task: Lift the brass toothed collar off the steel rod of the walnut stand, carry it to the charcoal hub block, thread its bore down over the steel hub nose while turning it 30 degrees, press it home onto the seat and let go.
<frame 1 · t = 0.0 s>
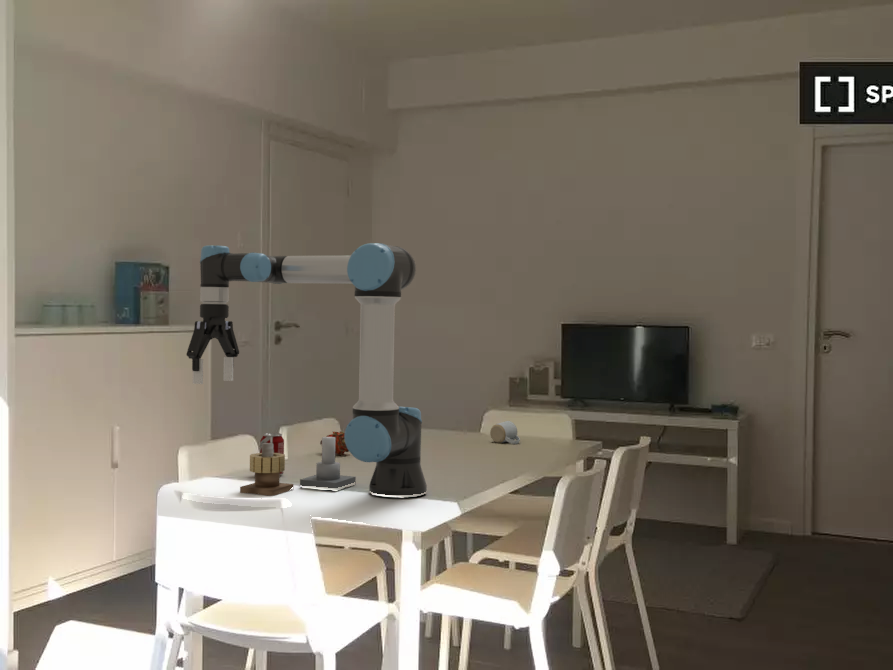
hand: (213, 382, 263), 28 cm above the table, fingers open, 13 cm apart
stand: (267, 491, 257), on the table
soda can: (271, 476, 281), on the table
dragon fruit: (335, 455, 324), on the table
collar: (267, 470, 257), point 5 cm above the table, touching stand
hub: (327, 486, 265), on the table
ceramic mug: (506, 443, 362), on the table
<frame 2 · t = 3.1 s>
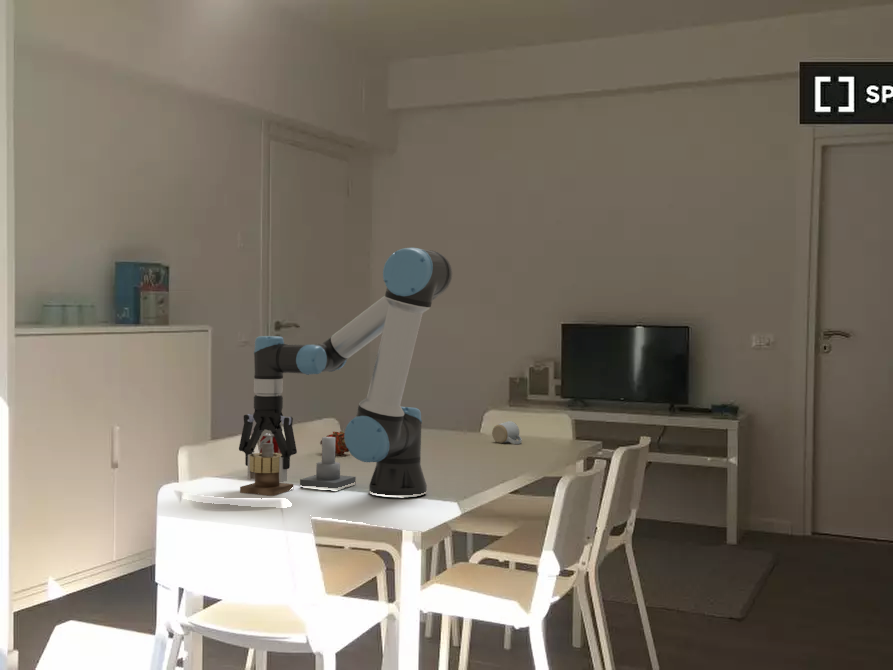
hand: (267, 479, 257), 3 cm above the table, fingers closed on collar, 9 cm apart
collar: (267, 470, 257), point 6 cm above the table, touching gripper, stand
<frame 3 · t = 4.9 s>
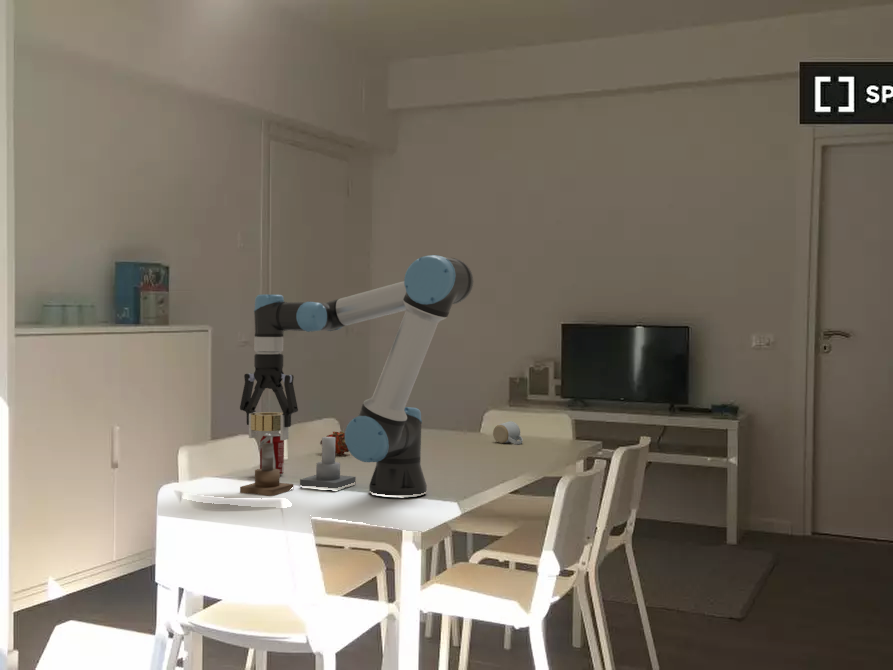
hand: (268, 438, 257), 14 cm above the table, fingers closed on collar, 9 cm apart
collar: (268, 429, 257), point 16 cm above the table, touching gripper
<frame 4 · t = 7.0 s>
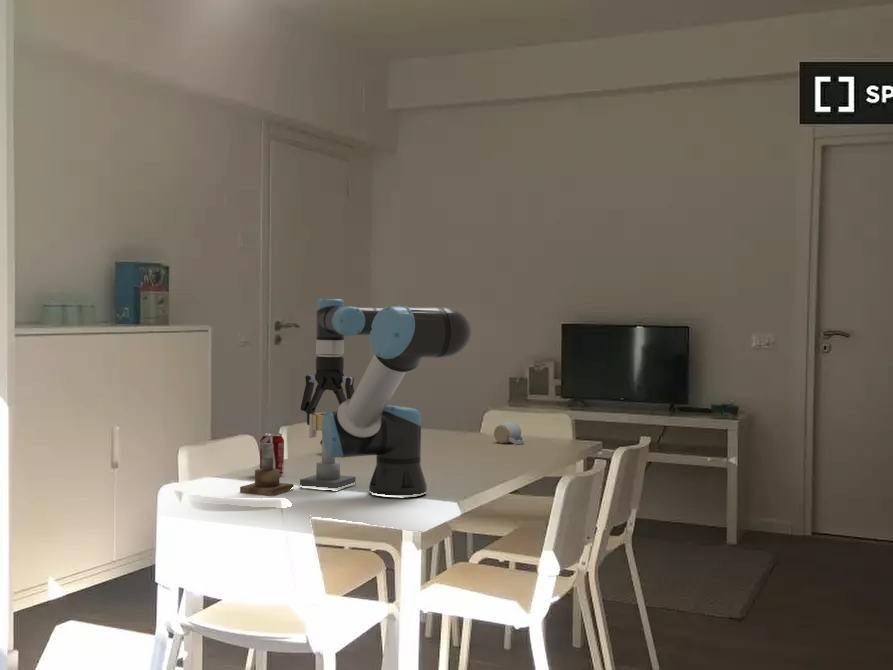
hand: (328, 438, 265), 13 cm above the table, fingers closed on collar, 9 cm apart
collar: (328, 429, 265), point 16 cm above the table, touching gripper
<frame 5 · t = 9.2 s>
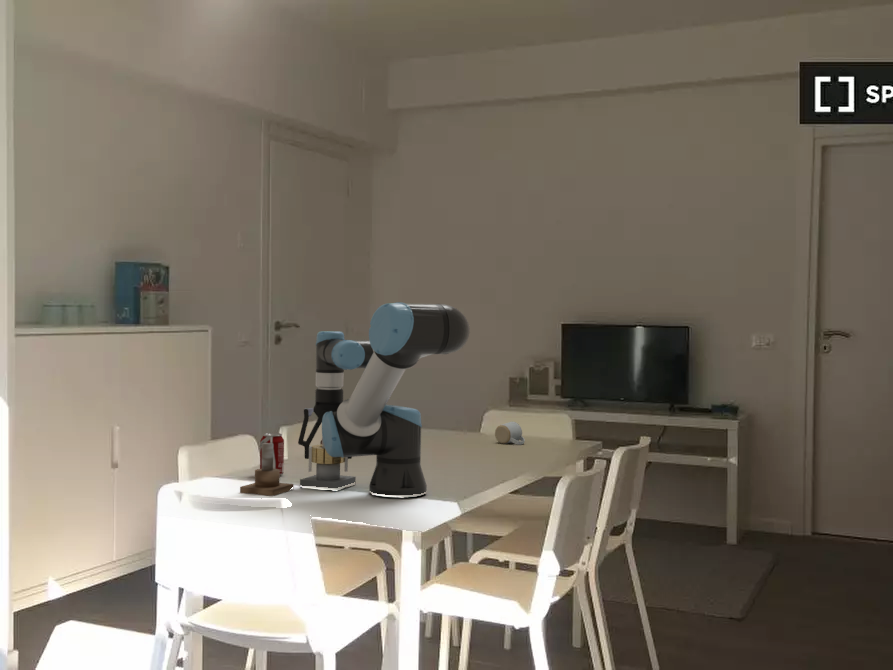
hand: (328, 470, 265), 4 cm above the table, fingers closed on collar, 9 cm apart
collar: (328, 461, 265), point 7 cm above the table, touching gripper
when the fingers open (4 cm above the table, at t = 10.7 s): collar stays where it is, resting on hub.
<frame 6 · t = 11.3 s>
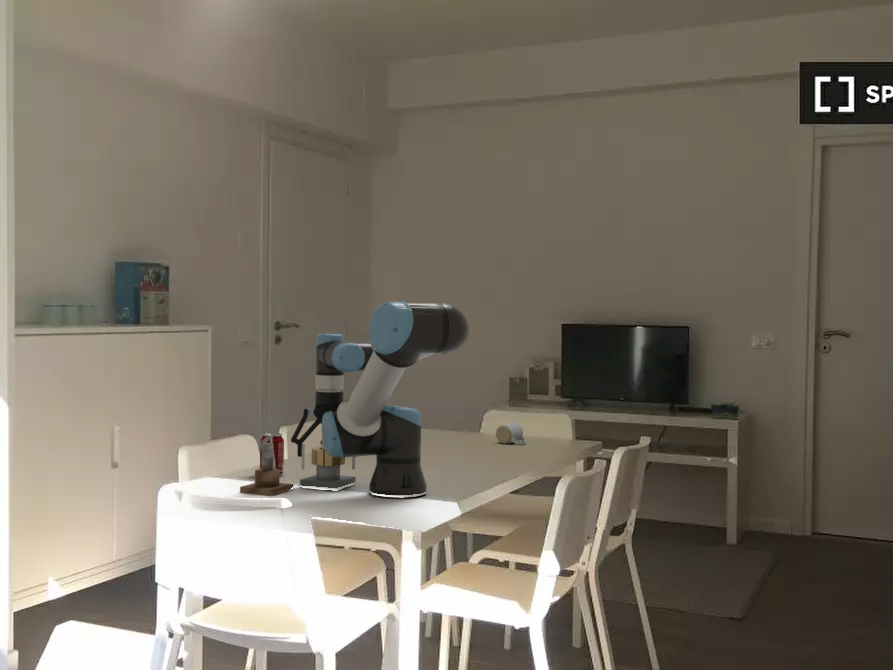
hand: (328, 468, 265), 5 cm above the table, fingers open, 13 cm apart
collar: (328, 463, 265), point 6 cm above the table, touching hub
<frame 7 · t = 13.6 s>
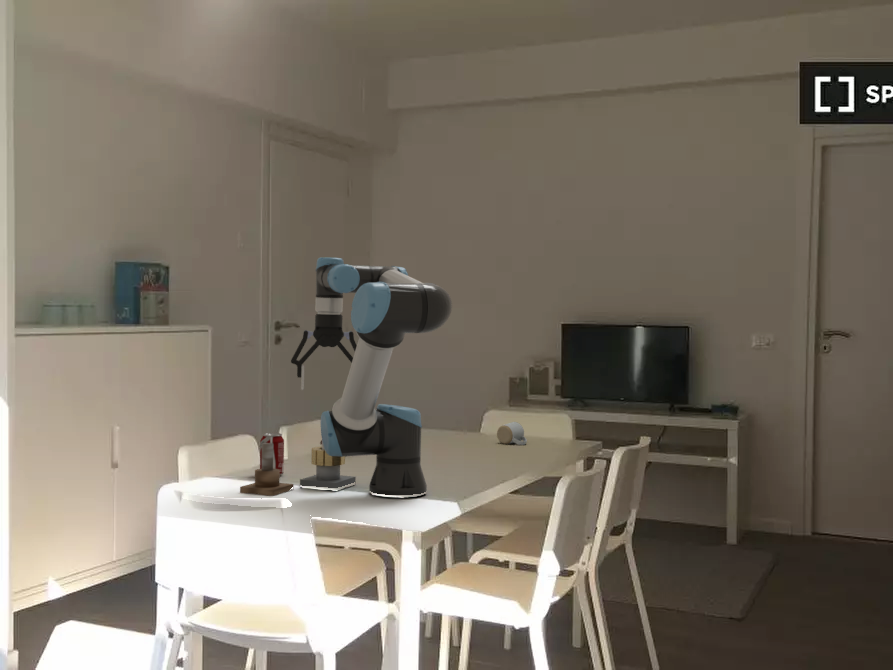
hand: (327, 389, 271), 26 cm above the table, fingers open, 13 cm apart
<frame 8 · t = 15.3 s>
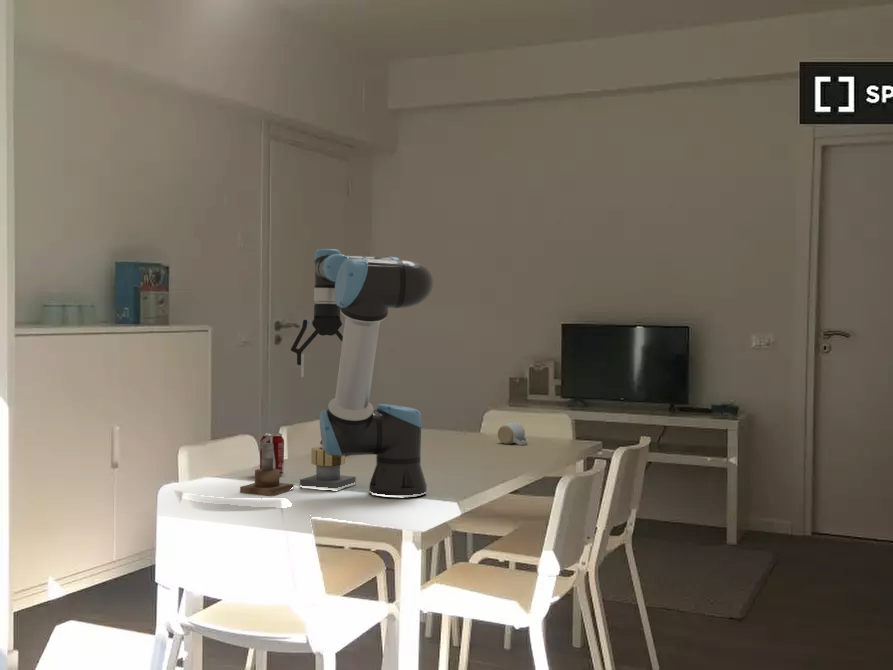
hand: (326, 377, 281), 29 cm above the table, fingers open, 13 cm apart
at the end: collar 0.1 cm off-centre on the hub, point 6.4 cm above the hub's base; collar tilted 0°; the gripper is holding nothing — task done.
